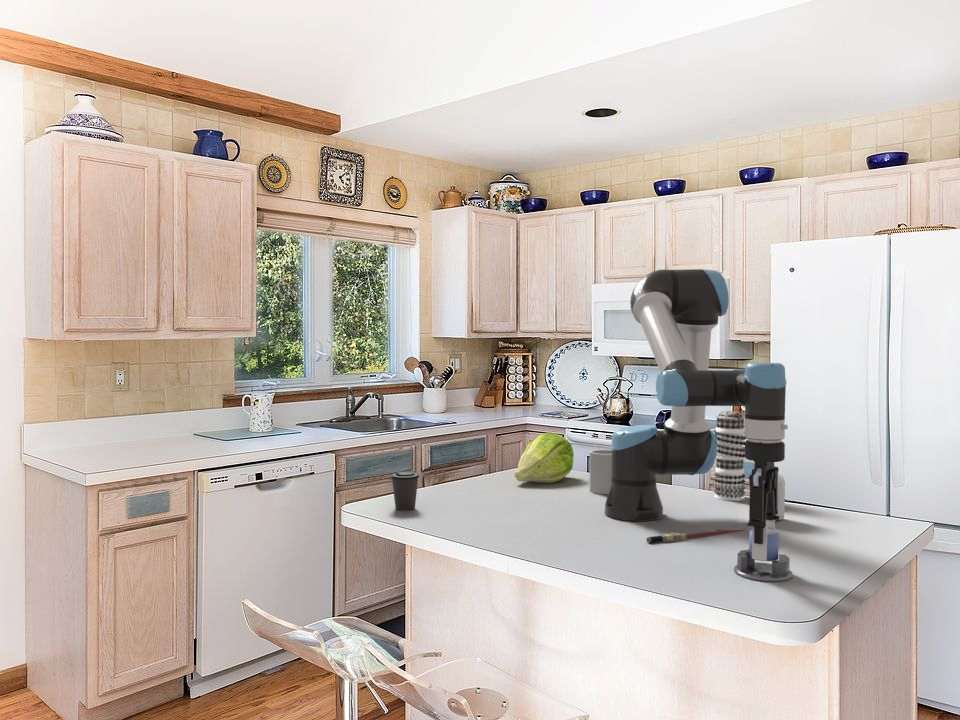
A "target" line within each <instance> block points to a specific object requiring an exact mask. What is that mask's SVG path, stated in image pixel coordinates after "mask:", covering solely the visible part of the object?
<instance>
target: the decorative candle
mask: <svg viewBox="0 0 960 720" xmlns="http://www.w3.org/2000/svg"><path fill="white" fill-rule="evenodd" d="M715 418H716V427H715V430H713V433H714V434H715V436H716V439H717V442H716V445H717V454H716V459H715V461H716V463H715V465H716V466H715V472H714V473H713V475H714V476H715V478H714V479H713V480H714V482H715V483H714V484H713V487H714V490H713V492H714V499H718V500H721V501H731V502H736V501H743V500H745V495H746V492H745V489H746V486H745V485H744V484H745V482H746V480H745V479H744V478H746V474H745V468H744V464H745V463H744V460H745V459H746V458H745V442H746V440H748V438H746V437H745V435H744V434H745V416H743V414H742V412H740V411H724V410H723V411H721V412H719V413H718V415H717V416H715ZM742 497H744V498H742Z"/></svg>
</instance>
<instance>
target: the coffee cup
mask: <svg viewBox="0 0 960 720" xmlns="http://www.w3.org/2000/svg"><path fill="white" fill-rule="evenodd" d="M420 477H421V475H420V474H419V473H418V472H414V471H408V470H406V471H403V470H402V471H398V472H394V473H392V474H391V475H390V478H391V480H392V489H393V497H394V498H393V499H394V506H395V507H394V508H395V510H396V511H403V512H404V511H413V510H415V509H416V501H417V492H418V482H419V478H420Z"/></svg>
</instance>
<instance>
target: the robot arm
mask: <svg viewBox="0 0 960 720" xmlns="http://www.w3.org/2000/svg"><path fill="white" fill-rule="evenodd" d="M729 301H730V299H729V291H728V286H727V282H726V280H725V278H724V276H723V275H722V274H721V272H719V271H717V270H714V269H705V268H702V269H701V268H697V269H693V268H692V269H691V268H690V269H689V268H688V269H658V270H654V271H650V272H649V273H647V274H646V275H645V276H643V277H641V279H640V280H639V281H638V282H637V283H636V285H635V286H634V288H633V289H632V293H631V295H630V301H629V303H630V310H631V311H630V312H631V313H632V315H633V318H634V320H635V321H636V322H637V323H638V324H640V325H641V327H642V330H643V332H644V335H645V337H646V339H647V340H646V341H647V342H648V344H649V345H648V346H649V347H650V350H651V352H652V354H653V357H654V360H655V362H656V365H657V366H658V369H659V372H658V374H657V376H656V381H655V391H656V398H657V400H658V401H657V402H659V403H660V404H661V405H663V406H664V407H665V406H667V407H671V410H670V411H671V413H670V417H669V418H668V419H667V420H665V421H664V425H663V426H664V429H663V430H658V428H657V426H656V425H653V424H639V425H630V426H629V425H628V426H624V427H620V428H617V429H616V430H615V431H613V433H612V436H611V445H610V450H612V484H611V488H610V491H609V494H608V495H607V498H606V500H605V504H604V515H606V516H607V517H610V518H613V519H616V520H617V519H618V520H622V521H632V522H633V521H634V522H635V521H639V522H641V521H643V522H646V521H654V520H655V521H656V520H659V519H661V518H662V517H664V516H663V515H664V507H663V504H662V503H663V502H662V500H661V497H660V494H659V491H658V487H657V476H660V475H661V476H663V475H664V476H669V475H670V476H671V475H672V476H675V475H679V476H680V475H681V476H682V475H683V476H684V475H686V476H694V475H703V474H706V473H708V472H709V471H710V470H711V469H712V468H713V467H714V465H715V461H716V454H717V445H716V442H717V439H716V436H715V433H714V430H711V425H710V424H709V423H708V422H707V420H706V419H705V418H706V416H705V415H706V409H707V408H706V407H735V406H736V407H744V417H745V418H744V428H745V432H744V436H745V437H746V438H747V439H746V440H745V446H744V449H745V452H744V454H745V459H746V460H747V461H753V462H754V465H753V467H754V468H753V469H752V470H751V474H750V475H749V476H748V482H749V483H748V484H749V504H748V505H749V508H748V509H749V510H748V512H749V514H748V515H749V518H748V522H747V526H748V527H751V530H752V559H757V560H756V561H760V560H763V561H762V562H768V561H767V528H768V529H773V530H775V531H776V521H780V520H779V516H776V515H777V514H778V474H779V471H780V469H779V466H775V463H780V462H783V461H784V460H785V459H786V456H785V455H786V443H785V442H784V441H783V440H784V439H785V438H786V437H785V436H786V435H785V434H786V432H785V430H788V428H789V426H788V424H787V423H786V424H785V422H786V420H785V419H786V417H785V416H786V392H787V391H786V386H787V378H786V367H785V365H783V364H782V363H780V362H749V363H747V364H746V366H745V369H743V368H742V369H739V368H736V369H735V368H734V369H733V370H732V369H731V370H730V369H729V370H709V364H710V350H711V337H712V330H713V329H714V328H715V327H716V326H718V324H719V317H722V316H725V315H726V313H727V312H728V309H729V305H730V304H729ZM773 520H776V521H773Z"/></svg>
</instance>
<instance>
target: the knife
mask: <svg viewBox="0 0 960 720" xmlns="http://www.w3.org/2000/svg"><path fill="white" fill-rule="evenodd" d="M744 531H746V529H715V530H713V531H701V532H693V533H680V532H669V533H663V534H661V535H660V534H659V535H655V536H648V537H647V538H646V542H647V543H650V544H651V543H660V542H662V543H669V542H670V543H671V542H678V541H685V540H688V539H689V540H690V539H699V538H703V537H710V536H711V537H712V536H720V535H726V534H730V533H731V534H732V533H738V532H744Z"/></svg>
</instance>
